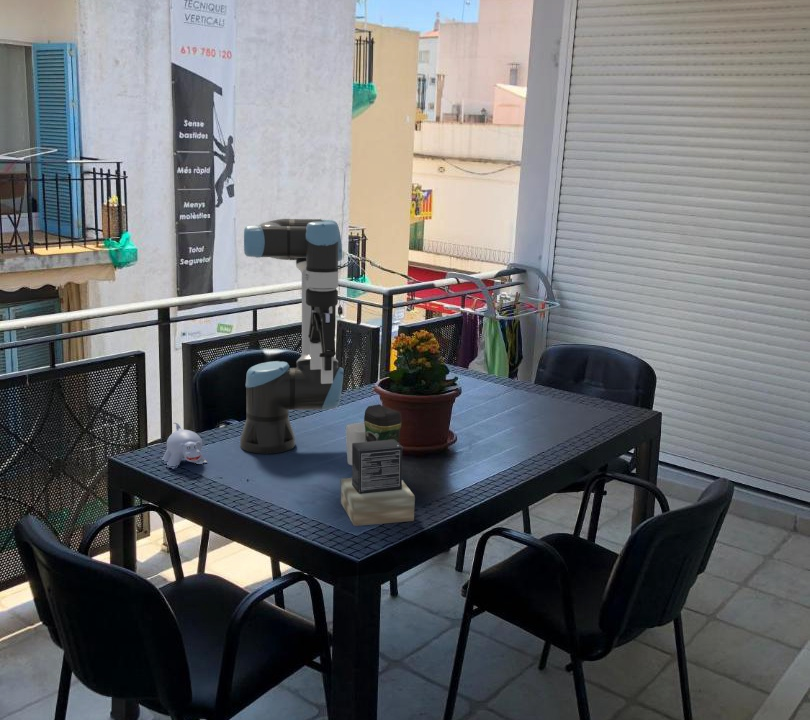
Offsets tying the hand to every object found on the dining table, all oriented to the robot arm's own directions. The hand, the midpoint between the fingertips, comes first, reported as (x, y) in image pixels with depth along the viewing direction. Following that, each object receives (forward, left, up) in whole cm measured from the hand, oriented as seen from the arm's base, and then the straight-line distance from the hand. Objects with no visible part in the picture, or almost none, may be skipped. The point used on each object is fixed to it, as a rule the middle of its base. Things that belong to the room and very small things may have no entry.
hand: (321, 376), depth 223 cm
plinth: (+17, +10, -29) cm, 35 cm away
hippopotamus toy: (-24, -31, -29) cm, 49 cm away
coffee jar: (-5, +17, -29) cm, 34 cm away
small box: (+17, +10, -23) cm, 30 cm away
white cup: (-16, +14, -29) cm, 36 cm away
